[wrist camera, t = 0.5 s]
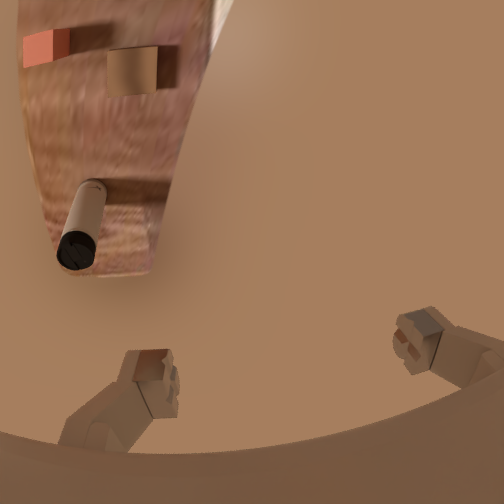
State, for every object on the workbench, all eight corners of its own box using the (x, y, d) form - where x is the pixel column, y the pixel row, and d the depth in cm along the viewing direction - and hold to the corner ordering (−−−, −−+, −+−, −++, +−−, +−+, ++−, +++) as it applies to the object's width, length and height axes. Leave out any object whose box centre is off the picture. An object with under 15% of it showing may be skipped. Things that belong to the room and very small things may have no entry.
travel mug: (100, 172, 53) (81, 237, 38) (111, 200, 57) (100, 269, 43) (72, 183, 52) (47, 249, 38) (85, 209, 56) (68, 279, 42)
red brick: (43, 60, 35) (23, 68, 28) (43, 34, 31) (23, 37, 25) (69, 55, 36) (52, 61, 30) (70, 28, 33) (53, 29, 26)
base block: (111, 92, 44) (107, 97, 41) (111, 49, 39) (107, 51, 36) (156, 88, 46) (156, 93, 43) (158, 45, 41) (157, 46, 38)
